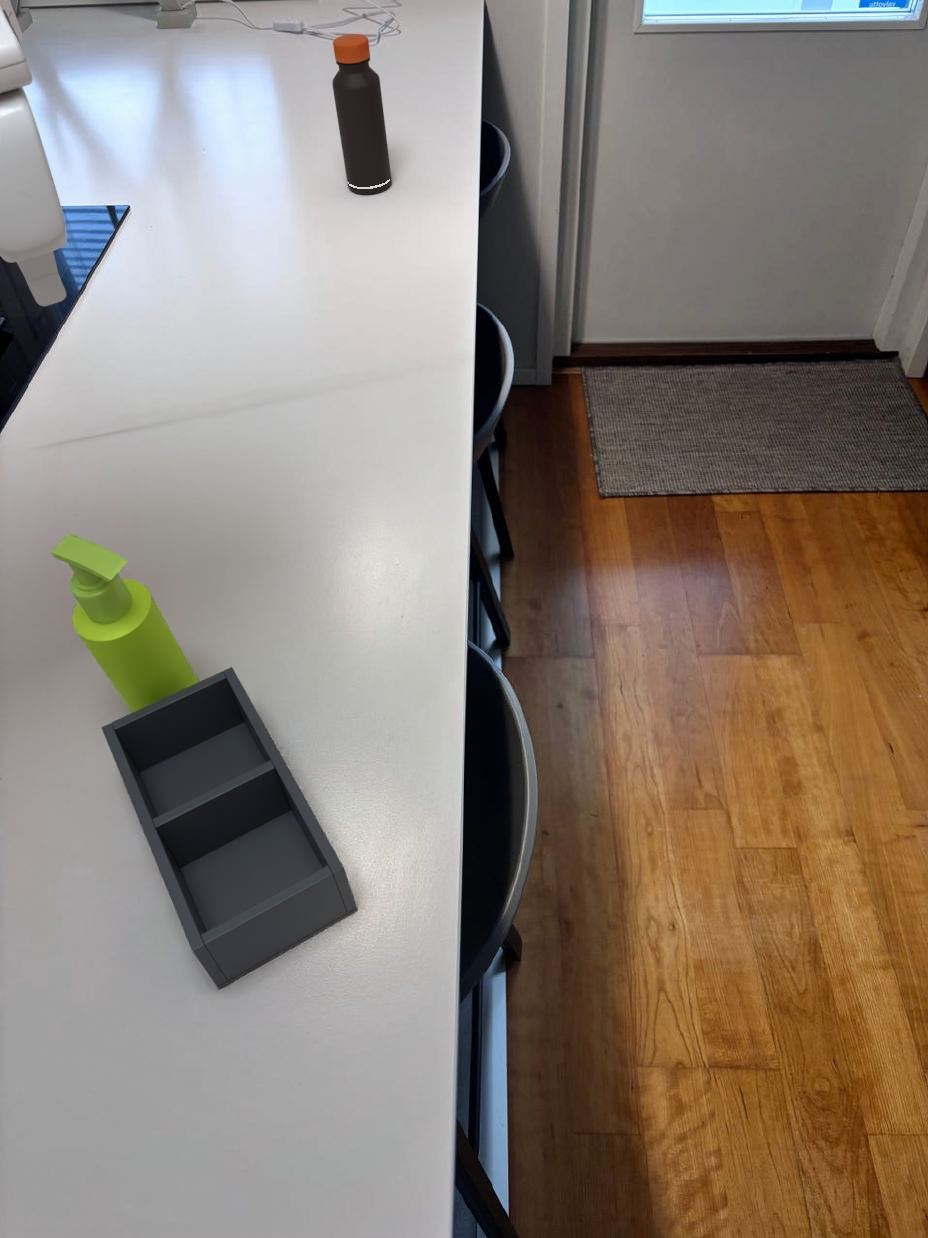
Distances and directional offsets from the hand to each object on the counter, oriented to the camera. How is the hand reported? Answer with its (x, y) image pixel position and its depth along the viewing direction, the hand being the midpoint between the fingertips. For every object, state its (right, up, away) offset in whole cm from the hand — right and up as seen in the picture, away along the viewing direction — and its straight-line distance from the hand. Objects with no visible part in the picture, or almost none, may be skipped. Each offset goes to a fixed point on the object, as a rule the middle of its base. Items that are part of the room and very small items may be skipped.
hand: (32, 266), depth 60 cm
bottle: (+13, +44, +86) cm, 97 cm away
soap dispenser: (+3, -30, +21) cm, 36 cm away
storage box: (+10, -39, +12) cm, 42 cm away
